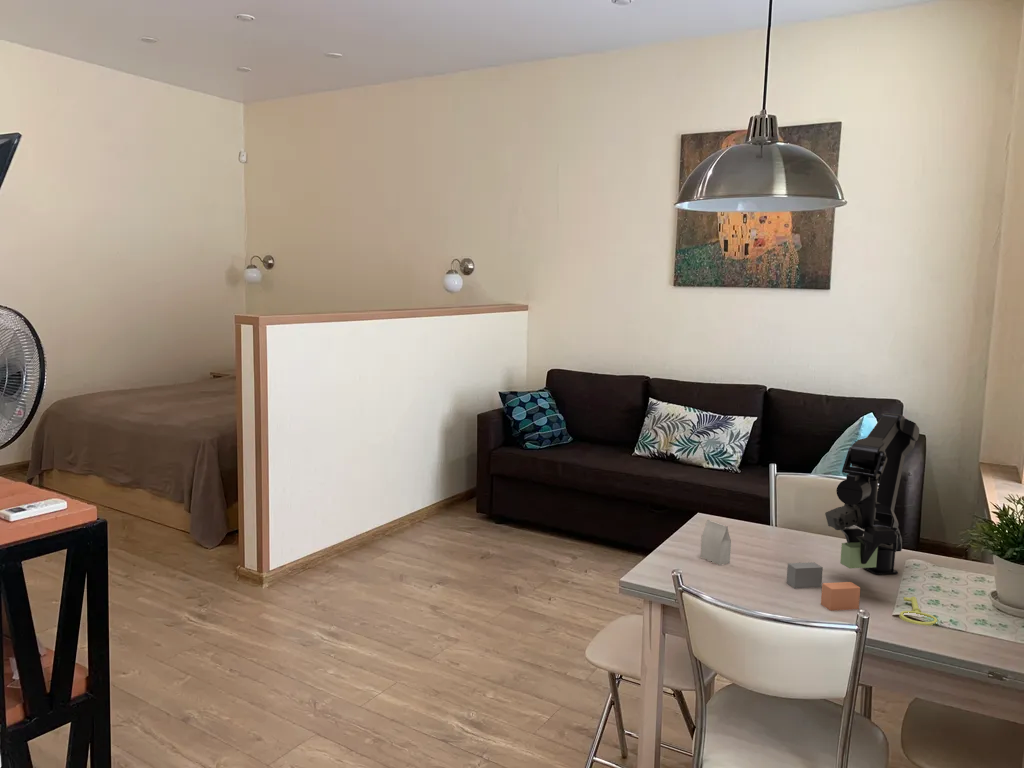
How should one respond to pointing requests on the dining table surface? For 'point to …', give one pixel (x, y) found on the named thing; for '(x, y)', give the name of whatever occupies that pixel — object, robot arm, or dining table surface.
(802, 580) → the gray brick
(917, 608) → the key
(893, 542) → the robot arm
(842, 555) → the green brick
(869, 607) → the dining table surface
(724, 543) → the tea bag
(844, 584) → the rust brick
